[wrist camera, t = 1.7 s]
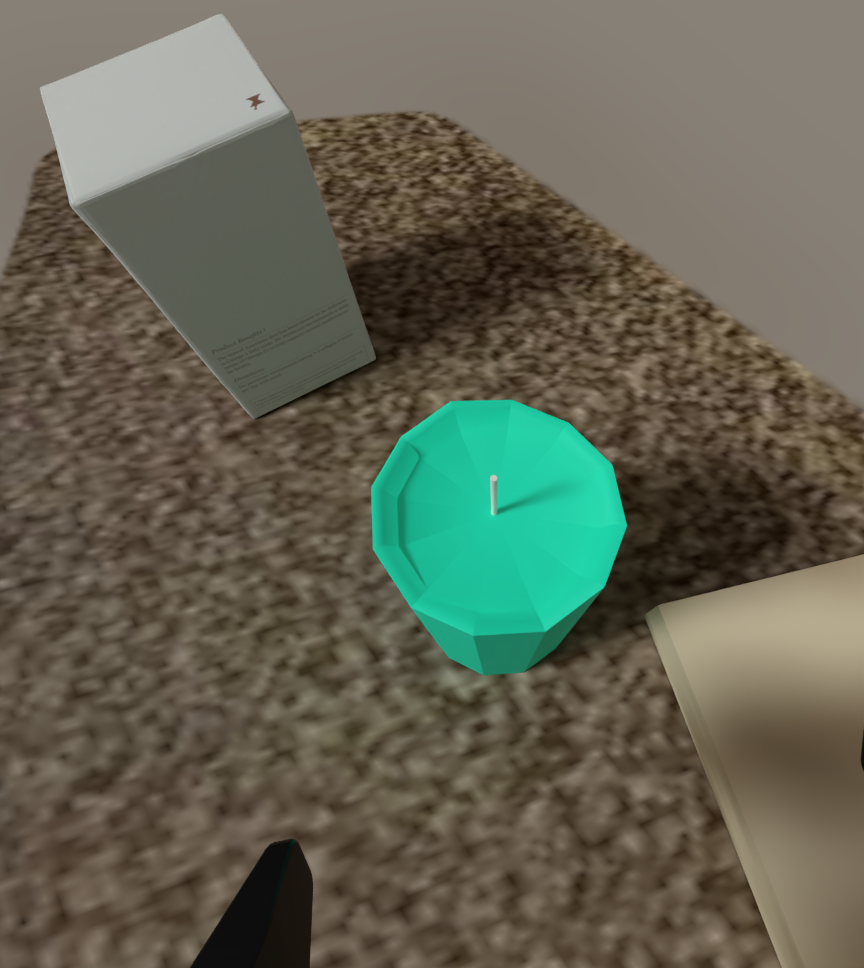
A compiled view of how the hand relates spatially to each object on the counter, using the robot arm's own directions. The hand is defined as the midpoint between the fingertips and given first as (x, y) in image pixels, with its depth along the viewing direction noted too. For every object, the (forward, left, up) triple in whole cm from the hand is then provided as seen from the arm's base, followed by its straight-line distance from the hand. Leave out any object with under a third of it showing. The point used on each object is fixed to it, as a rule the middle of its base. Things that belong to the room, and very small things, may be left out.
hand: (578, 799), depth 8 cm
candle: (+6, 0, -12) cm, 14 cm away
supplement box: (+22, +7, -12) cm, 26 cm away
